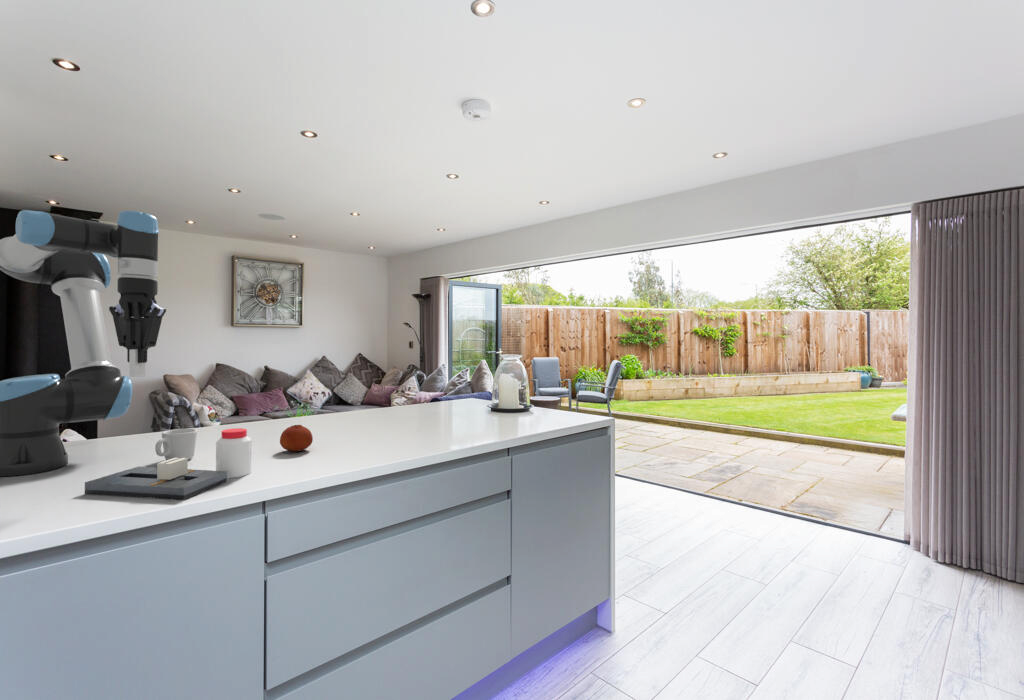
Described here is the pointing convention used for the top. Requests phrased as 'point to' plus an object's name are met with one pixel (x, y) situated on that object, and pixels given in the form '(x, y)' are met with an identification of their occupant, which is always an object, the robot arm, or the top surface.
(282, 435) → the fruit
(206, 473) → the console
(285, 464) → the top surface
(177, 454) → the cup
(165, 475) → the fader
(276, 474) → the top surface
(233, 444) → the pill bottle
